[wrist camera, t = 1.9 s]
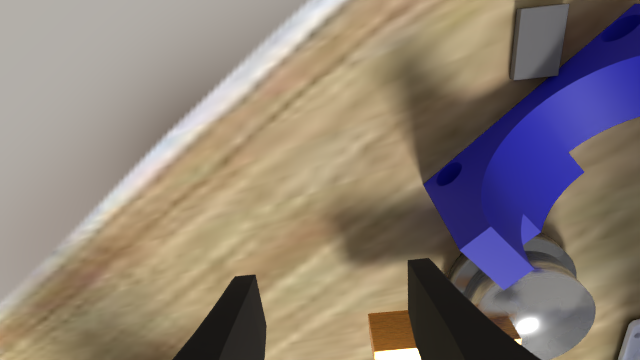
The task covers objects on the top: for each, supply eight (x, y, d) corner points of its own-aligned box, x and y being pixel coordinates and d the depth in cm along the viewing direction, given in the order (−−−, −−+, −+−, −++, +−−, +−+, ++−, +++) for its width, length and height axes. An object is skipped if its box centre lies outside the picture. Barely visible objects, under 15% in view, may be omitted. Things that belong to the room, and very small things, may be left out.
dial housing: (556, 317, 25) (565, 330, 24) (445, 327, 26) (450, 340, 25) (575, 223, 22) (587, 233, 21) (449, 235, 22) (454, 246, 22)
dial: (579, 245, 21) (628, 293, 18) (561, 328, 24) (601, 384, 21) (363, 266, 22) (372, 316, 18) (368, 345, 24) (377, 402, 21)
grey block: (553, 73, 19) (558, 75, 18) (509, 78, 19) (513, 80, 18) (563, 3, 17) (569, 3, 17) (517, 8, 17) (521, 9, 17)
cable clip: (473, 231, 23) (524, 308, 17) (422, 182, 21) (459, 250, 16) (677, 74, 19) (823, 110, 14) (632, 3, 18) (773, 11, 12)
